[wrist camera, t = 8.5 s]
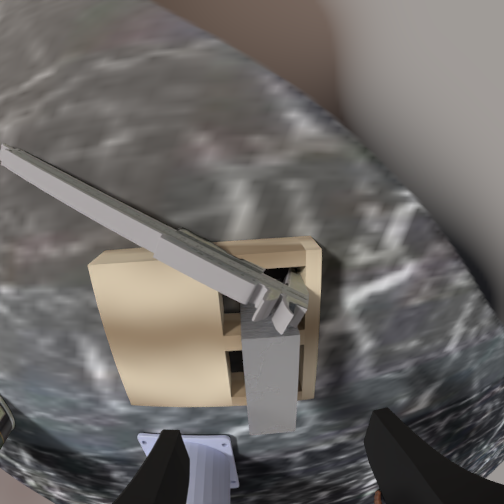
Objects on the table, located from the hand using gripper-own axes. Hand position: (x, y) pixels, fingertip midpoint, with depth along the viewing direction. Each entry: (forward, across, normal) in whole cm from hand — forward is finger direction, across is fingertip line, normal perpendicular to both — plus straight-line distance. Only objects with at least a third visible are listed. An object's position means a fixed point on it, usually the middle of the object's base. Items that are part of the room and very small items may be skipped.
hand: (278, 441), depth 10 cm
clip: (+9, 0, +1) cm, 9 cm away
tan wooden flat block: (+9, +3, 0) cm, 10 cm away
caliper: (+9, +7, -8) cm, 14 cm away
